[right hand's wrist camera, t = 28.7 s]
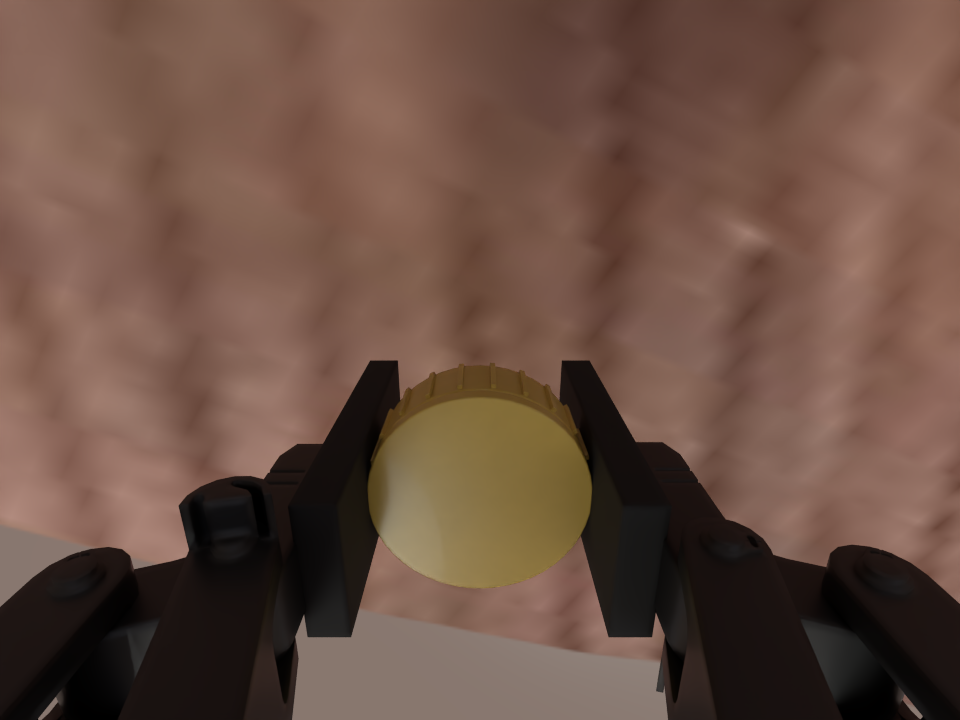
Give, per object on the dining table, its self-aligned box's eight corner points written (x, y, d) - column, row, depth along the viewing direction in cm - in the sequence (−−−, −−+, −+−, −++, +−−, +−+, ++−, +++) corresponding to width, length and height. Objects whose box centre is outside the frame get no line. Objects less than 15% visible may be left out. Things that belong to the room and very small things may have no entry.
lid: (352, 500, 12) (332, 551, 11) (421, 328, 11) (411, 356, 9) (528, 561, 13) (535, 618, 12) (617, 406, 12) (639, 445, 10)
